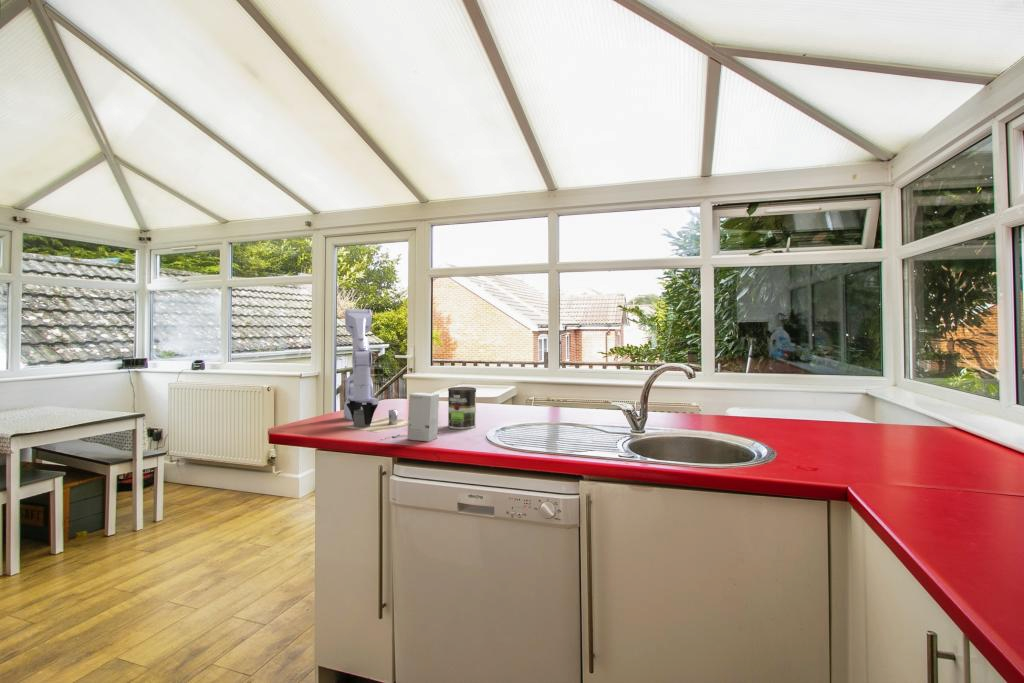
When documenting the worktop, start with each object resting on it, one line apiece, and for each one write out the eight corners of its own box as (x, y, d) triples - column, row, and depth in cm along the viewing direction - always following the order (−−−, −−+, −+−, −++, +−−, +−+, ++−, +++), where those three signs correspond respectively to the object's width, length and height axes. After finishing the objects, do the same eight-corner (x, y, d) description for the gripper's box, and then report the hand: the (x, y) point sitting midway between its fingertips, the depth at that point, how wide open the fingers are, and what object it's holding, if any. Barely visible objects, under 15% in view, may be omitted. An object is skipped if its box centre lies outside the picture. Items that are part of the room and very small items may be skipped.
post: (386, 428, 170) (386, 410, 170) (393, 427, 173) (393, 409, 173) (392, 429, 169) (392, 411, 169) (399, 427, 171) (399, 410, 171)
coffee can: (469, 430, 168) (469, 390, 168) (443, 428, 171) (443, 389, 171) (480, 424, 178) (480, 387, 178) (454, 423, 181) (455, 386, 181)
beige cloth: (341, 430, 166) (341, 426, 166) (386, 421, 184) (386, 417, 184) (376, 436, 157) (376, 432, 157) (420, 426, 174) (420, 422, 174)
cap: (350, 426, 167) (350, 410, 167) (363, 423, 172) (363, 408, 171) (361, 427, 164) (361, 412, 164) (373, 425, 169) (373, 409, 168)
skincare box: (407, 440, 152) (407, 394, 152) (417, 436, 158) (417, 391, 158) (430, 442, 150) (430, 395, 149) (439, 438, 155) (439, 392, 155)
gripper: (339, 384, 168) (339, 422, 168) (367, 387, 160) (367, 427, 160) (355, 382, 174) (355, 419, 174) (383, 385, 166) (383, 423, 166)
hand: (362, 423), depth 168 cm, fingers closed on cap, 6 cm apart
